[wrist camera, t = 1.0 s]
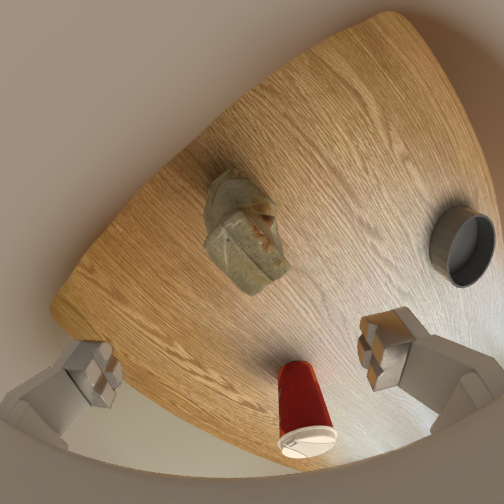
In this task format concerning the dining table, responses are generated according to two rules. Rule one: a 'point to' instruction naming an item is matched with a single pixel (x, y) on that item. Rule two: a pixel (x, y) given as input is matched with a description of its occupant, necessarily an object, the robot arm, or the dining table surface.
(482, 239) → the grey metal round dish
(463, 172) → the dining table surface
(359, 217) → the dining table surface
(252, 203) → the sculpture
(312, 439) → the paper cup
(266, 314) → the dining table surface
